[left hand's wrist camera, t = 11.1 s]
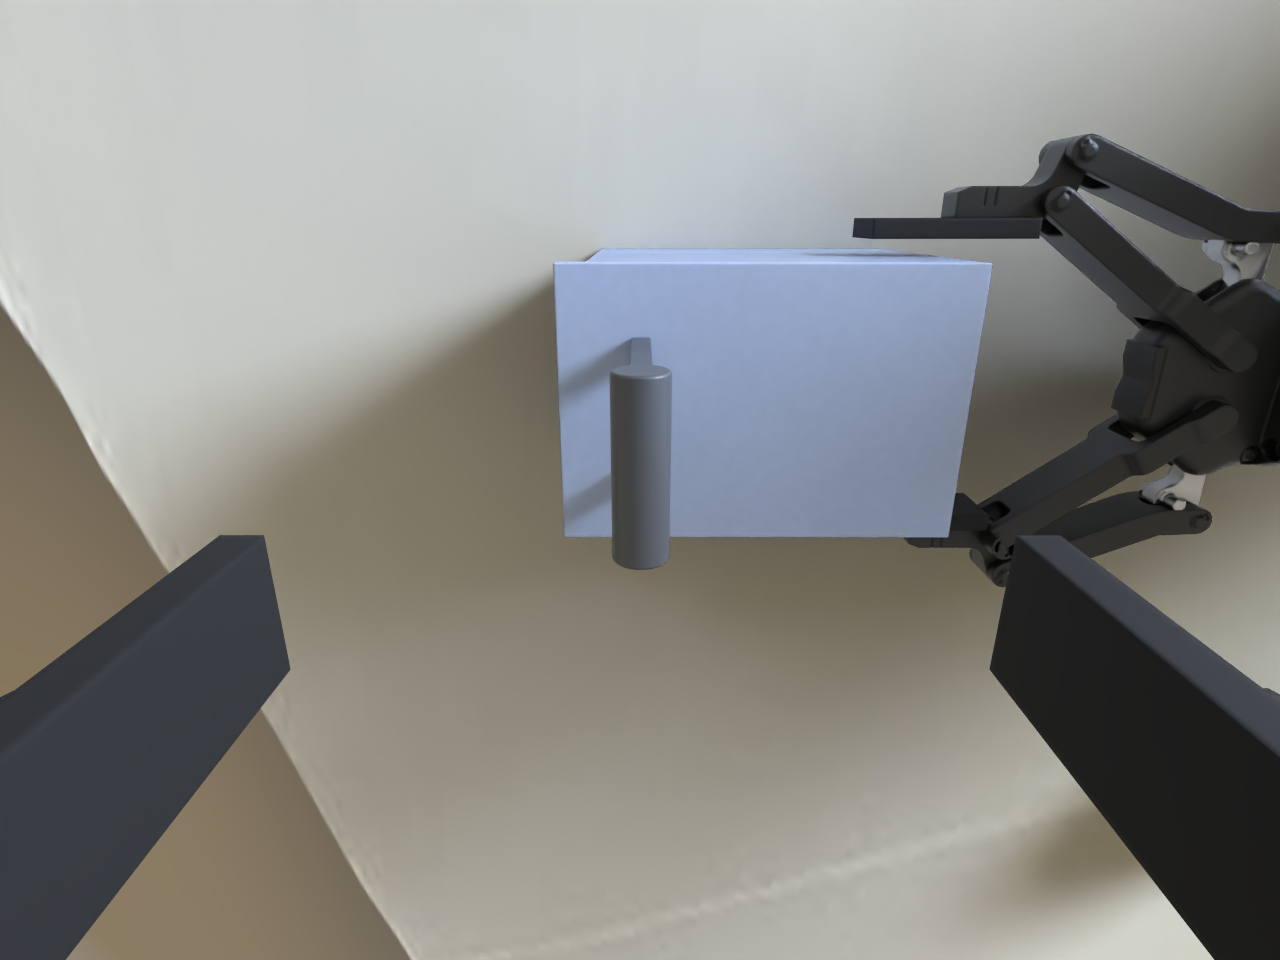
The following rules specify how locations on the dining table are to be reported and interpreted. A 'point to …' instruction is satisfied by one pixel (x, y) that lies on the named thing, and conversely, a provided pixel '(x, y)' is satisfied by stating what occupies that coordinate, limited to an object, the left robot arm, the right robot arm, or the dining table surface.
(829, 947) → the dining table surface
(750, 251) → the chest
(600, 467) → the lid
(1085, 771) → the left robot arm
